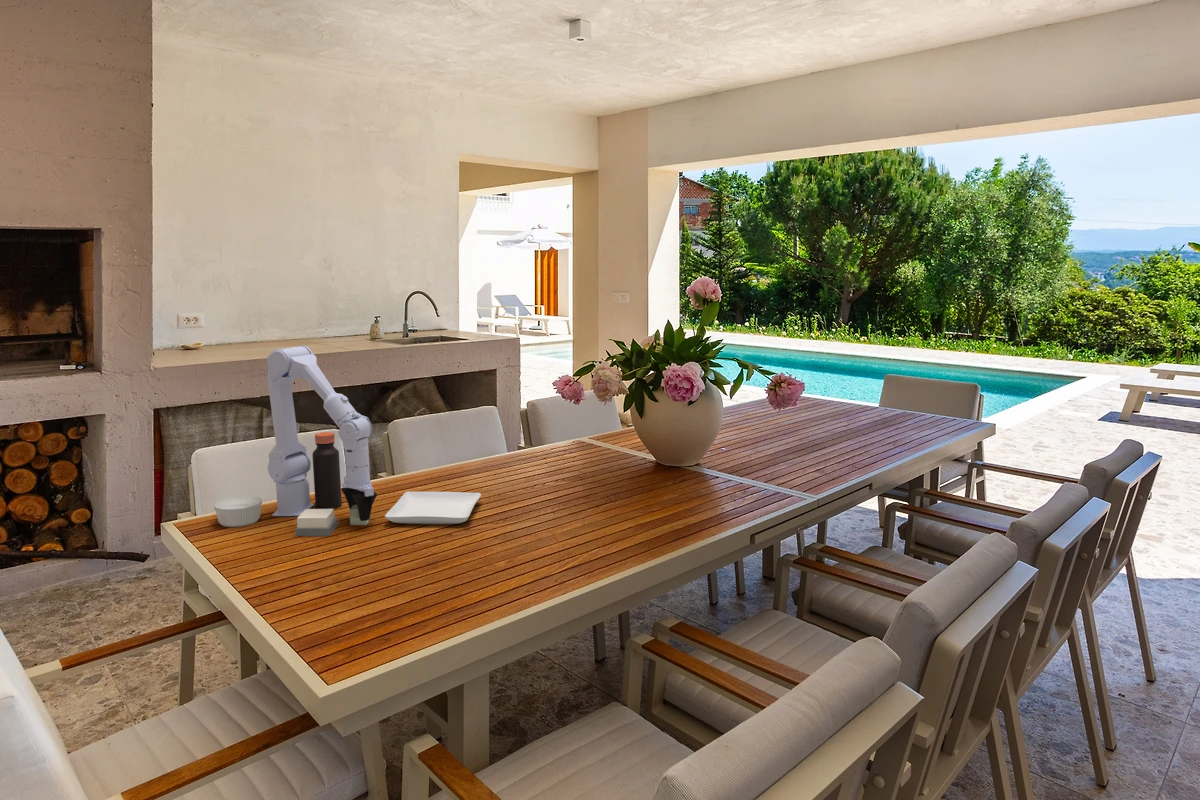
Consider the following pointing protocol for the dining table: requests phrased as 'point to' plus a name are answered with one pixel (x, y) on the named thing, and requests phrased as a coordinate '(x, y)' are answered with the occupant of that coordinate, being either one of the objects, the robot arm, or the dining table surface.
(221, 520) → the ramekin
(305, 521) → the cream slab
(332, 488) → the bottle
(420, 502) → the salad plate
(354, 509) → the sage cube
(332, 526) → the charcoal slab
